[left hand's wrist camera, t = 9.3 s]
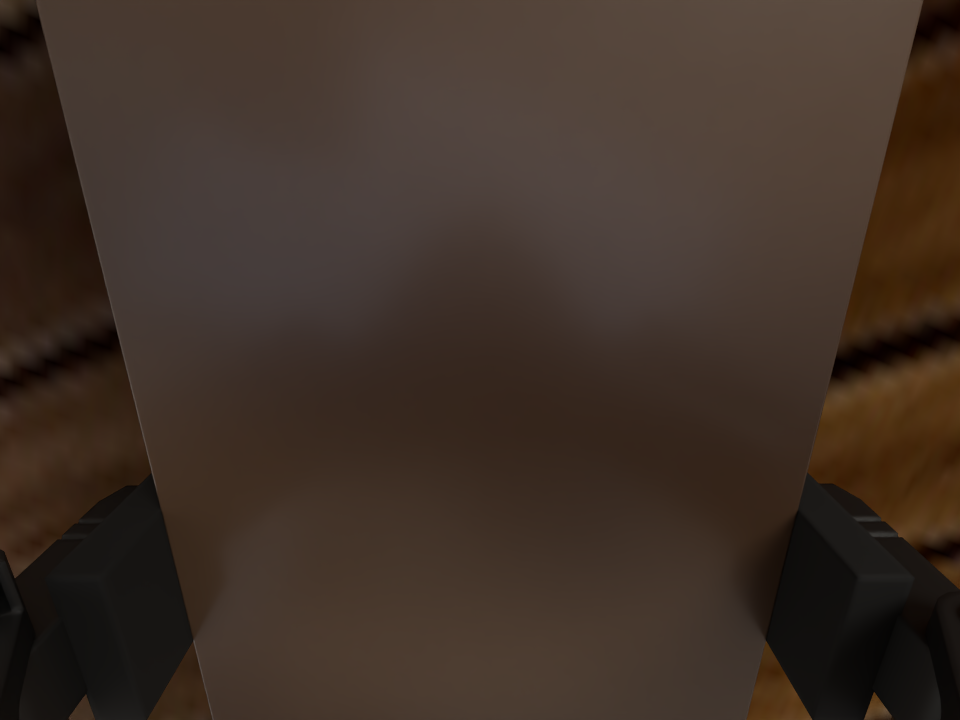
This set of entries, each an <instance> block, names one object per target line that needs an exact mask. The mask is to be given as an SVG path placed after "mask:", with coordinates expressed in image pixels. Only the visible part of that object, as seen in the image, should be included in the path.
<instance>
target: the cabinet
mask: <svg viewBox="0 0 960 720" xmlns="http://www.w3.org/2000/svg"><path fill="white" fill-rule="evenodd" d="M35 1H36V5H37V9H38V13H39V17H40V21H41V25H42V29H43V33H44V37H45V41H46V45H47V49H48V54H49V58H50V62H51V66H52V70H53V74H54V78H55V82H56V86H57V90H58V94H59V98H60V102H61V106H62V110H63V114H64V118H65V123H66V127H67V131H68V135H69V139H70V143H71V147H72V151H73V155H74V159H75V163H76V167H77V171H78V175H79V179H80V183H81V187H82V191H83V196H84V200H85V204H86V208H87V212H88V216H89V220H90V224H91V228H92V232H93V236H94V240H95V244H96V248H97V252H98V256H99V260H100V264H101V269H102V273H103V277H104V281H105V285H106V289H107V293H108V297H109V301H110V305H111V309H112V313H113V317H114V321H115V325H116V329H117V333H118V338H119V342H120V346H121V350H122V354H123V358H124V362H125V366H126V370H127V374H128V378H129V382H130V386H131V390H132V394H133V398H134V402H135V406H136V411H137V415H138V419H139V423H140V427H141V431H142V435H143V439H144V443H145V447H146V451H147V455H148V459H149V463H150V467H151V471H152V475H153V479H154V484H155V488H156V492H157V496H158V500H159V504H160V508H161V512H162V516H163V520H164V524H165V528H166V532H167V536H168V540H169V544H170V548H171V553H172V557H173V561H174V565H175V569H176V573H177V577H178V581H179V585H180V589H181V593H182V597H183V601H184V605H185V609H186V613H187V617H188V621H189V626H190V630H191V634H192V638H193V642H194V646H195V650H196V654H197V658H198V662H199V666H200V670H201V674H202V678H203V682H204V686H205V690H206V694H207V699H208V703H209V707H210V711H211V715H212V719H213V720H746V719H747V715H748V711H749V707H750V702H751V698H752V694H753V690H754V686H755V682H756V678H757V674H758V670H759V666H760V662H761V658H762V654H763V650H764V646H765V641H766V637H767V633H768V629H769V625H770V621H771V617H772V613H773V609H774V605H775V601H776V597H777V593H778V589H779V585H780V580H781V576H782V572H783V568H784V564H785V560H786V556H787V552H788V548H789V544H790V540H791V536H792V532H793V528H794V524H795V520H796V515H797V511H798V507H799V503H800V499H801V495H802V491H803V487H804V483H805V479H806V475H807V471H808V467H809V463H810V459H811V454H812V450H813V446H814V442H815V438H816V434H817V430H818V426H819V422H820V418H821V414H822V410H823V406H824V402H825V398H826V393H827V389H828V385H829V381H830V377H831V373H832V369H833V365H834V361H835V357H836V353H837V349H838V345H839V341H840V337H841V332H842V328H843V324H844V320H845V316H846V312H847V308H848V304H849V300H850V296H851V292H852V288H853V284H854V280H855V276H856V272H857V267H858V263H859V259H860V255H861V251H862V247H863V243H864V239H865V235H866V231H867V227H868V223H869V219H870V215H871V211H872V206H873V202H874V198H875V194H876V190H877V186H878V182H879V178H880V174H881V170H882V166H883V162H884V158H885V154H886V150H887V145H888V141H889V137H890V133H891V129H892V125H893V121H894V117H895V113H896V109H897V105H898V101H899V97H900V93H901V89H902V84H903V80H904V76H905V72H906V68H907V64H908V60H909V56H910V52H911V48H912V44H913V40H914V36H915V32H916V28H917V24H918V19H919V15H920V11H921V7H922V3H923V0H35Z"/></svg>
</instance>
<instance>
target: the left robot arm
mask: <svg viewBox="0 0 960 720" xmlns="http://www.w3.org/2000/svg"><path fill="white" fill-rule="evenodd" d="M766 641H767V643H768V644H769V646H770V648H771V650H772V651H773V653H774V655H775V656H776V658H777V660H778V662H779V663H780V665H781V667H782V668H783V670H784V672H785V674H786V675H787V677H788V679H789V680H790V682H791V684H792V685H793V687H794V689H795V691H796V692H797V694H798V696H799V697H800V699H801V701H802V703H803V704H804V706H805V708H806V709H807V711H808V713H809V714H810V716H811V718H812V720H864V718H865V715H866V712H867V709H868V707H869V704H870V701H871V698H872V695H873V693H874V692H875V693H876V695H877V696H878V697H879V699H880V700H881V702H882V703H883V704H884V706H885V707H886V708H887V710H888V711H889V713H890V714H891V715H892V718H891V720H960V590H959V589H958V588H957V587H956V586H955V585H954V584H953V583H952V582H951V581H949V580H948V579H947V578H946V577H945V576H944V575H943V574H942V573H941V572H940V571H938V570H937V569H936V568H935V567H934V566H933V565H932V564H931V563H930V562H929V561H927V560H926V559H925V558H924V557H923V556H922V555H921V554H920V553H919V552H918V551H917V550H915V549H914V548H913V547H912V546H911V545H910V544H909V543H908V542H907V541H906V540H904V539H903V538H902V537H898V533H897V532H896V531H895V530H894V529H892V528H891V527H890V526H889V525H888V524H887V523H886V522H882V521H881V518H880V517H879V516H878V515H877V514H876V513H875V512H874V511H873V510H872V509H871V508H869V507H868V506H867V505H866V504H865V503H864V502H863V501H862V500H861V499H859V498H857V497H855V496H854V495H852V494H850V493H848V492H847V491H845V490H843V489H841V488H839V487H838V486H836V485H834V484H818V483H817V482H816V481H815V480H814V479H813V478H812V477H811V476H810V475H809V474H808V473H807V475H806V479H805V483H804V487H803V491H802V495H801V499H800V503H799V507H798V511H797V515H796V520H795V524H794V528H793V532H792V536H791V540H790V544H789V548H788V552H787V556H786V560H785V564H784V568H783V572H782V576H781V580H780V585H779V589H778V593H777V597H776V601H775V605H774V609H773V613H772V617H771V621H770V625H769V629H768V633H767V637H766ZM192 642H193V638H192V634H191V630H190V626H189V621H188V617H187V613H186V609H185V605H184V601H183V597H182V593H181V589H180V585H179V581H178V577H177V573H176V569H175V565H174V561H173V557H172V553H171V548H170V544H169V540H168V536H167V532H166V528H165V524H164V520H163V516H162V512H161V508H160V504H159V500H158V496H157V492H156V488H155V484H154V479H153V475H152V473H151V474H150V475H149V476H148V477H147V478H146V479H145V480H144V481H143V482H142V483H141V484H140V485H139V486H125V487H124V488H122V489H120V490H118V491H117V492H115V493H113V494H111V495H110V496H108V497H106V498H104V499H103V500H101V501H99V502H98V503H97V504H96V505H95V506H94V507H93V508H92V509H90V510H89V511H88V512H87V513H86V514H85V515H84V516H83V517H82V518H81V519H80V520H79V523H78V524H74V525H73V526H72V527H71V528H70V529H69V530H68V531H66V532H65V533H64V534H63V535H62V539H61V540H57V541H56V542H54V543H53V544H52V545H51V546H50V547H49V548H48V549H47V550H46V551H45V552H44V553H43V554H41V555H40V556H39V557H38V558H37V559H36V560H35V561H34V562H33V563H32V564H31V565H29V566H28V567H27V568H26V569H25V570H24V571H23V572H22V573H21V574H20V575H19V576H17V577H16V578H14V576H13V573H12V571H11V568H10V565H9V563H8V560H7V558H6V555H5V552H4V551H2V550H0V720H69V716H70V715H71V713H72V712H73V711H74V709H75V708H76V707H77V705H78V704H79V702H80V701H81V700H82V698H83V697H84V696H85V694H86V695H87V698H88V700H89V703H90V706H91V709H92V711H93V714H94V717H95V720H147V719H148V717H149V715H150V713H151V712H152V710H153V708H154V707H155V705H156V703H157V702H158V700H159V698H160V696H161V695H162V693H163V691H164V690H165V688H166V686H167V684H168V683H169V681H170V679H171V678H172V676H173V674H174V672H175V671H176V669H177V667H178V666H179V664H180V662H181V661H182V659H183V657H184V655H185V654H186V652H187V650H188V649H189V647H190V645H191V643H192Z"/></svg>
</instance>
